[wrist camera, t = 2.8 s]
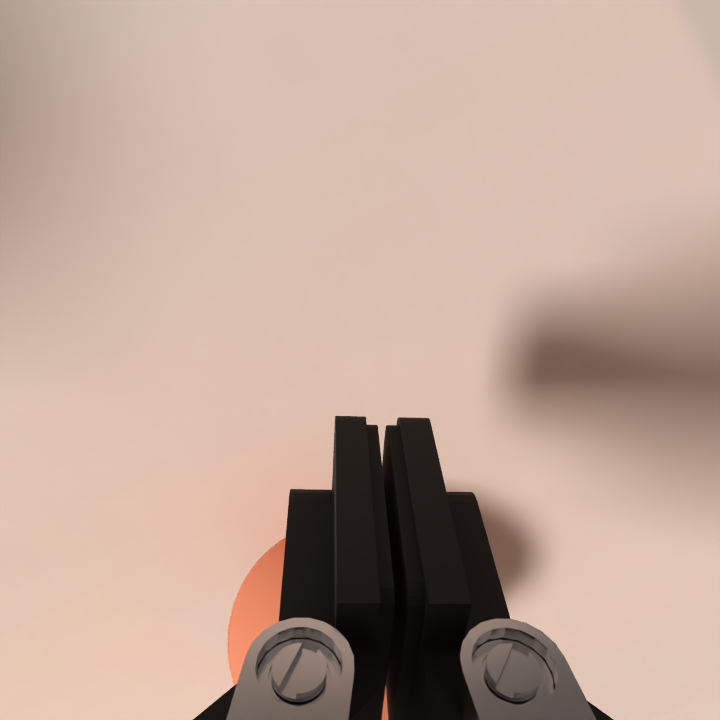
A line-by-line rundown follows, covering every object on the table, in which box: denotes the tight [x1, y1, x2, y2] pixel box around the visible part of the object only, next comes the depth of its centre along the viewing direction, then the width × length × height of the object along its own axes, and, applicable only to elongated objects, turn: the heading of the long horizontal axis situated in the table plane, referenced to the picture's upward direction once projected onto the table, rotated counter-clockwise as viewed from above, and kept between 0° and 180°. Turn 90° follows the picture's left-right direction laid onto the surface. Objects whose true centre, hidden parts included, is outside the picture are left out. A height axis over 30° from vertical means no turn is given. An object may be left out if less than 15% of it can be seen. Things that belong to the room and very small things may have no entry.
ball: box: [228, 538, 388, 720], centre depth 18 cm, size 6×6×6 cm
